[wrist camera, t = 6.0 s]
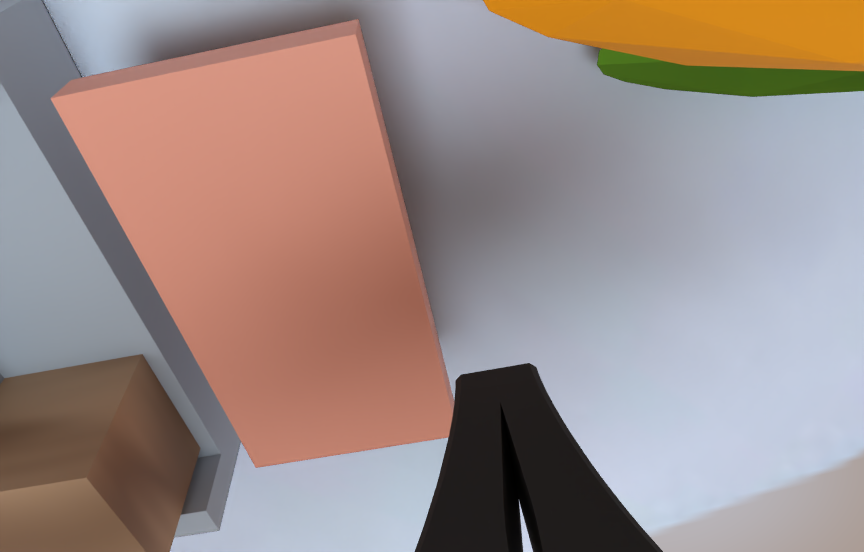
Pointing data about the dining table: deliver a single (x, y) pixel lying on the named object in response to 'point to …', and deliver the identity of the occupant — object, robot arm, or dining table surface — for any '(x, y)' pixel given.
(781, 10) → the corn
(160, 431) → the block
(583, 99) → the dining table surface
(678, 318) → the dining table surface
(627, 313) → the dining table surface
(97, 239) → the grey boxy piece
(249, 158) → the thick rectangular slab
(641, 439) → the dining table surface
